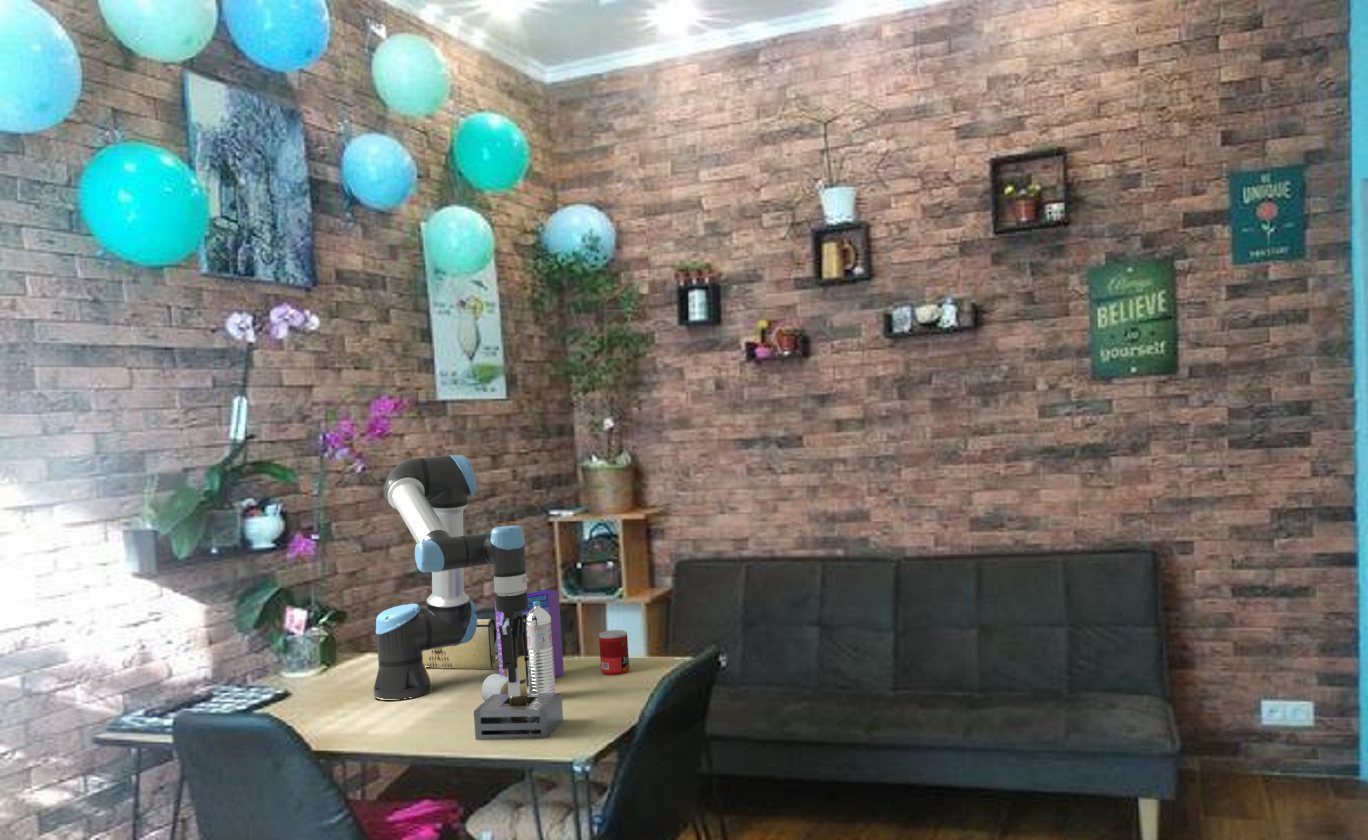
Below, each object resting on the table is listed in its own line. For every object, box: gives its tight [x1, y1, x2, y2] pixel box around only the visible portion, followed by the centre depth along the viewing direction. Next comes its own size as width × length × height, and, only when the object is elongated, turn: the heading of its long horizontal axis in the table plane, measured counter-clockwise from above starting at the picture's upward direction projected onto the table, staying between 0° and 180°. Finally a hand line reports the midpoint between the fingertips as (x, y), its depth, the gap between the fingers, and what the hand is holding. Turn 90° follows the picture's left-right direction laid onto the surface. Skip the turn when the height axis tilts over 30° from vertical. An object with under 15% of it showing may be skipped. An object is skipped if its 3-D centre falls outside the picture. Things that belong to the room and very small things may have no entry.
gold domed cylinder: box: [509, 655, 528, 719], centre depth 226 cm, size 4×4×14 cm
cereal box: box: [494, 589, 565, 686], centre depth 268 cm, size 17×5×24 cm, turn 129°
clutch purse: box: [422, 618, 499, 671], centre depth 290 cm, size 30×7×15 cm, turn 73°
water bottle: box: [526, 601, 557, 694], centre depth 251 cm, size 7×7×25 cm
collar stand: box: [473, 692, 564, 740], centre depth 225 cm, size 17×13×6 cm
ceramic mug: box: [481, 673, 510, 706], centre depth 247 cm, size 11×8×8 cm
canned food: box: [598, 629, 630, 676], centre depth 272 cm, size 8×8×11 cm
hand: (517, 692), depth 226 cm, fingers closed on gold domed cylinder, 4 cm apart
